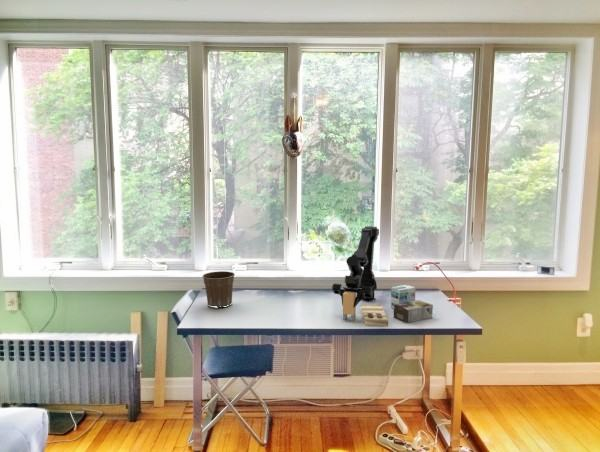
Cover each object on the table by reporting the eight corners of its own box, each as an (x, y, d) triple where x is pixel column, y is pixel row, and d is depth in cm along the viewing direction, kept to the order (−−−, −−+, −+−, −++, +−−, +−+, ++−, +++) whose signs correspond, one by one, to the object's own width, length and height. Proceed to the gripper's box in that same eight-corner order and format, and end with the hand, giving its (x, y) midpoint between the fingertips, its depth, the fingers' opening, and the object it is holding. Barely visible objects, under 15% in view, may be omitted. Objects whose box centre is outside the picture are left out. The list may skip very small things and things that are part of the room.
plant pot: (196, 307, 215) (195, 276, 214) (214, 299, 230) (213, 270, 228) (224, 311, 209) (223, 279, 207) (241, 302, 224) (240, 272, 222)
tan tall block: (345, 317, 200) (345, 291, 199) (355, 318, 198) (355, 292, 197) (342, 320, 196) (342, 293, 195) (353, 321, 194) (353, 294, 193)
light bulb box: (399, 311, 209) (399, 290, 207) (390, 307, 214) (390, 286, 213) (415, 308, 213) (416, 287, 212) (406, 304, 219) (407, 284, 218)
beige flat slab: (360, 309, 211) (360, 304, 211) (381, 310, 211) (381, 305, 210) (365, 325, 189) (365, 320, 189) (387, 325, 189) (387, 320, 188)
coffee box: (418, 312, 207) (392, 317, 199) (419, 299, 206) (393, 304, 199) (432, 317, 199) (406, 323, 192) (433, 304, 198) (407, 309, 191)
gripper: (333, 266, 202) (325, 295, 193) (371, 270, 194) (365, 300, 186) (338, 279, 210) (330, 307, 201) (375, 282, 203) (369, 312, 194)
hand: (348, 306), depth 195 cm, fingers closed on tan tall block, 5 cm apart
